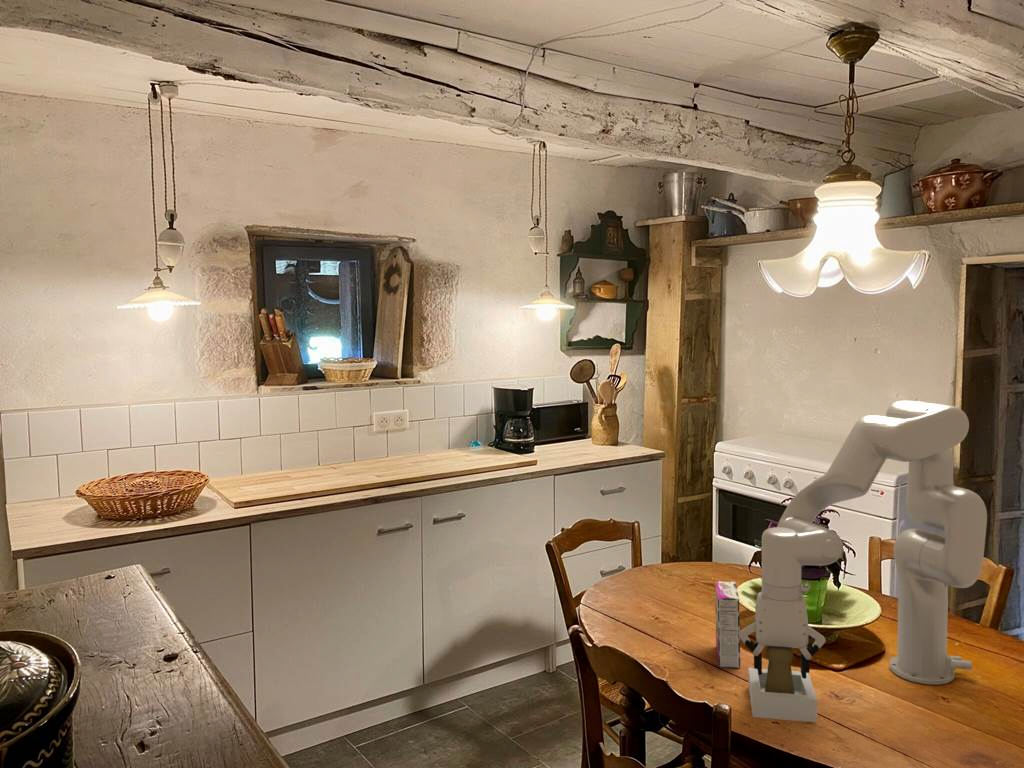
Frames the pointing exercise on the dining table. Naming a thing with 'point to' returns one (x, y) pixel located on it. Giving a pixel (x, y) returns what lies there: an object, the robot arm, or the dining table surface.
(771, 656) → the cork
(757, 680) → the open box
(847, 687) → the dining table surface
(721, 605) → the candy bar box
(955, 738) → the dining table surface
